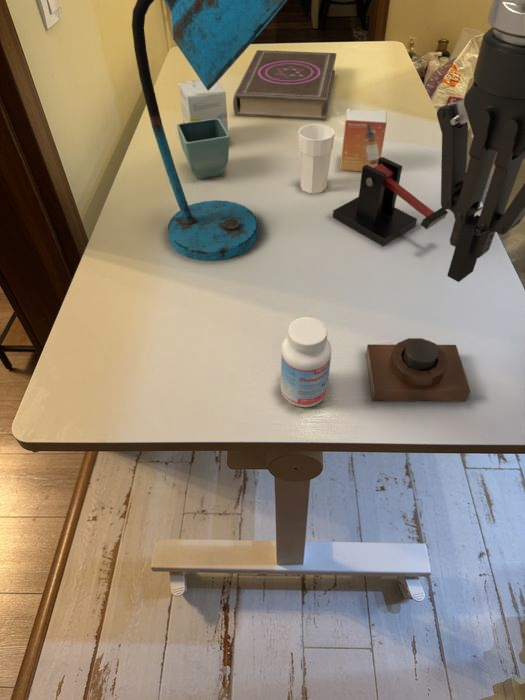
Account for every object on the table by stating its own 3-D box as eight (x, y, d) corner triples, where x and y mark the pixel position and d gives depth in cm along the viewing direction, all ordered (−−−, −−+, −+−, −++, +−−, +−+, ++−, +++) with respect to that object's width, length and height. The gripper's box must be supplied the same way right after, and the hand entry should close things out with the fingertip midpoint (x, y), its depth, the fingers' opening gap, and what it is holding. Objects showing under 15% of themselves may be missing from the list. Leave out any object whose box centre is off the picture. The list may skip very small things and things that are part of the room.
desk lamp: (274, 270, 85) (274, -82, 52) (150, 252, 89) (76, -86, 56) (294, 216, 96) (304, -105, 63) (182, 203, 100) (135, -107, 66)
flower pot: (233, 178, 106) (230, 135, 99) (190, 186, 104) (185, 143, 97) (222, 159, 111) (218, 117, 105) (182, 166, 110) (176, 123, 103)
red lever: (443, 220, 85) (450, 209, 83) (425, 232, 83) (430, 221, 81) (382, 172, 90) (386, 160, 88) (363, 182, 88) (367, 170, 86)
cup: (327, 196, 100) (332, 141, 92) (294, 193, 101) (295, 138, 93) (331, 179, 105) (336, 125, 96) (299, 176, 106) (301, 122, 97)
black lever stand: (415, 226, 93) (428, 170, 85) (382, 246, 89) (393, 189, 81) (365, 199, 99) (373, 145, 91) (332, 217, 95) (337, 162, 87)
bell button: (431, 348, 68) (434, 339, 67) (438, 371, 65) (441, 362, 64) (401, 348, 68) (403, 338, 67) (406, 371, 65) (408, 362, 64)
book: (325, 120, 123) (326, 98, 119) (233, 115, 126) (232, 94, 122) (334, 72, 143) (336, 52, 140) (255, 69, 146) (255, 49, 142)
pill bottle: (303, 417, 65) (307, 358, 57) (271, 388, 69) (270, 329, 60) (336, 391, 68) (344, 331, 60) (304, 365, 71) (307, 305, 63)
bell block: (452, 355, 72) (459, 335, 69) (466, 401, 67) (474, 381, 64) (365, 355, 72) (369, 335, 69) (372, 400, 67) (376, 381, 64)
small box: (339, 171, 107) (344, 119, 99) (341, 157, 110) (346, 107, 103) (378, 173, 106) (387, 122, 98) (379, 160, 110) (387, 109, 102)
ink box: (230, 145, 115) (226, 90, 107) (193, 152, 114) (186, 96, 105) (219, 129, 121) (215, 75, 112) (184, 135, 119) (176, 81, 110)
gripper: (435, 25, 42) (391, 261, 59) (598, 64, 35) (494, 319, 52) (488, 6, 45) (431, 235, 62) (645, 38, 38) (533, 286, 55)
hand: (460, 273), depth 57 cm, fingers closed
